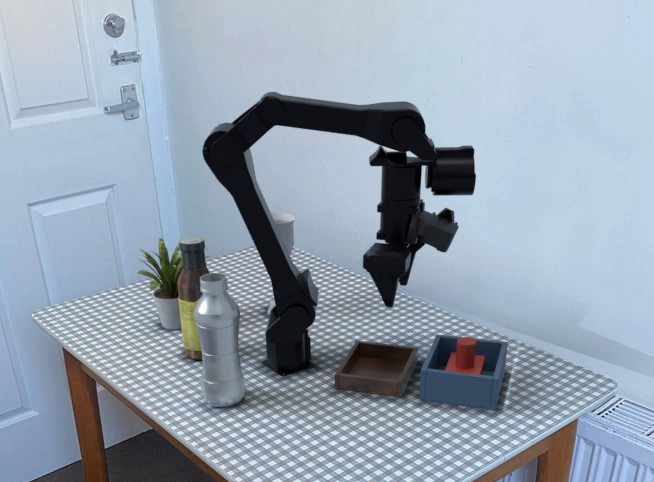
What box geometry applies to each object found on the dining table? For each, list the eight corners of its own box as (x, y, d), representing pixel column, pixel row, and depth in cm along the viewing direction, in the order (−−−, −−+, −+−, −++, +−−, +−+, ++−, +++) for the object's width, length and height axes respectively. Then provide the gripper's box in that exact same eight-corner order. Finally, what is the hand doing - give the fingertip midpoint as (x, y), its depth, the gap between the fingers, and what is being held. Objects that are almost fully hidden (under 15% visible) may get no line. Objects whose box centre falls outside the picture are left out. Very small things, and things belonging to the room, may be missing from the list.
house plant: (192, 347, 137) (182, 257, 129) (122, 338, 141) (108, 250, 133) (226, 315, 148) (218, 230, 140) (160, 307, 153) (149, 225, 144)
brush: (477, 398, 117) (480, 353, 113) (442, 394, 118) (444, 349, 115) (483, 375, 123) (487, 332, 119) (450, 371, 125) (453, 328, 121)
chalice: (306, 308, 150) (303, 215, 141) (286, 321, 145) (282, 226, 136) (274, 301, 153) (269, 210, 144) (254, 314, 148) (247, 220, 139)
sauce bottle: (215, 362, 131) (203, 248, 121) (179, 360, 133) (165, 246, 123) (226, 345, 137) (215, 234, 127) (192, 343, 138) (179, 233, 128)
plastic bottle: (203, 392, 123) (189, 270, 113) (246, 389, 123) (236, 267, 113) (202, 414, 117) (187, 287, 107) (247, 410, 117) (237, 284, 107)
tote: (419, 403, 117) (420, 369, 115) (434, 365, 128) (436, 334, 125) (495, 413, 114) (498, 379, 111) (504, 373, 125) (508, 341, 122)
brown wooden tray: (334, 391, 121) (334, 374, 120) (356, 356, 132) (356, 340, 130) (401, 400, 118) (401, 382, 117) (417, 363, 129) (418, 347, 127)
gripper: (443, 218, 105) (436, 325, 112) (466, 183, 120) (459, 280, 128) (362, 211, 108) (361, 316, 116) (395, 178, 123) (391, 273, 131)
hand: (396, 295), depth 122 cm, fingers open, 9 cm apart
